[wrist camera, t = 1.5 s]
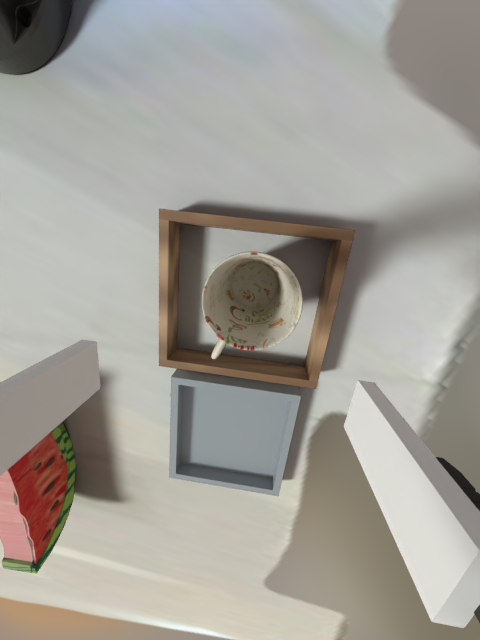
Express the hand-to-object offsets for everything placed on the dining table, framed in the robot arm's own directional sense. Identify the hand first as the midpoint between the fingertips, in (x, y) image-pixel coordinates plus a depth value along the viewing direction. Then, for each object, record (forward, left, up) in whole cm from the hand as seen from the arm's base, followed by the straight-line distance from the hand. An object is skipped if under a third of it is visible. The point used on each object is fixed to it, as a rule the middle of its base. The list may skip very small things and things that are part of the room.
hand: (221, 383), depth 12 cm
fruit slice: (+30, -29, -19) cm, 46 cm away
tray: (+20, 0, -18) cm, 27 cm away
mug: (0, 0, -19) cm, 19 cm away
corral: (0, 0, -18) cm, 19 cm away
